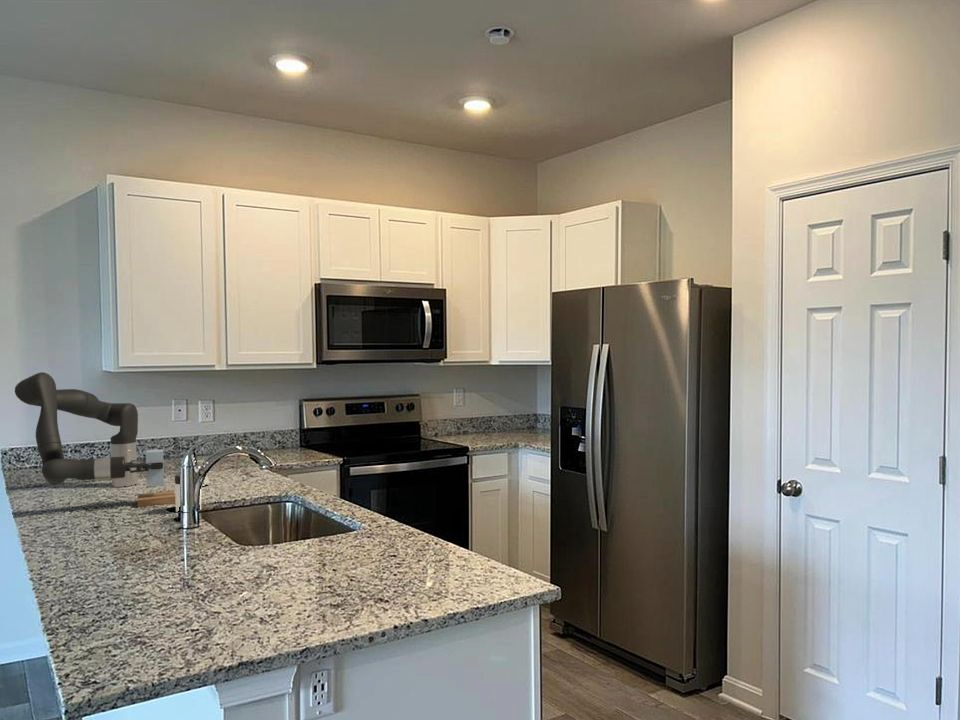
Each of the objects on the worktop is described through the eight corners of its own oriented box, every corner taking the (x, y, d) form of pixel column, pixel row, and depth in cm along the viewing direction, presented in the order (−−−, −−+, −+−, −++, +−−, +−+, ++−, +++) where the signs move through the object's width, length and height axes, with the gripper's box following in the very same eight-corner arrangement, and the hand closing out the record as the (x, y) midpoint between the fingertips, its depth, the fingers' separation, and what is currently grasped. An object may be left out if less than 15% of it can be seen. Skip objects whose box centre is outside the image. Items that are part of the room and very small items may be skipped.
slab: (138, 502, 258) (138, 494, 258) (174, 498, 263) (174, 490, 263) (137, 509, 247) (137, 500, 247) (175, 505, 252) (175, 496, 252)
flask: (214, 484, 288) (213, 459, 288) (205, 487, 281) (204, 462, 281) (196, 484, 289) (196, 459, 289) (187, 487, 282) (187, 462, 282)
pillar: (146, 484, 256) (146, 450, 256) (163, 482, 258) (163, 449, 258) (146, 486, 251) (146, 452, 251) (163, 485, 253) (163, 451, 253)
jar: (201, 511, 239) (200, 475, 238) (175, 513, 236) (173, 477, 236) (202, 505, 247) (201, 471, 247) (176, 508, 244) (175, 473, 244)
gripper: (108, 459, 242) (162, 456, 249) (110, 454, 255) (162, 451, 262) (108, 482, 242) (163, 477, 249) (111, 475, 255) (163, 471, 262)
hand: (162, 464), depth 255 cm, fingers closed on pillar, 5 cm apart
